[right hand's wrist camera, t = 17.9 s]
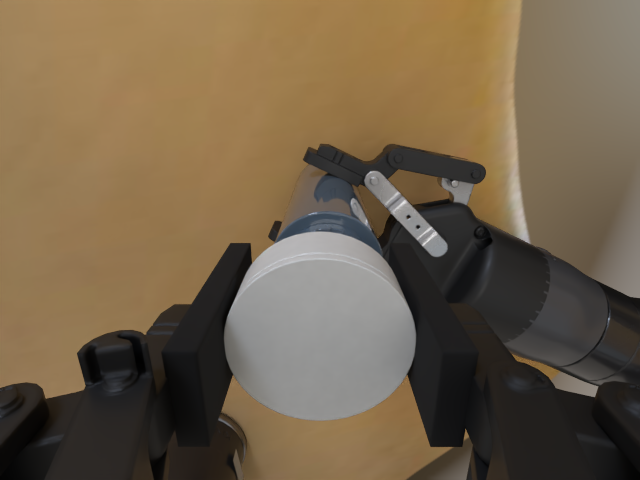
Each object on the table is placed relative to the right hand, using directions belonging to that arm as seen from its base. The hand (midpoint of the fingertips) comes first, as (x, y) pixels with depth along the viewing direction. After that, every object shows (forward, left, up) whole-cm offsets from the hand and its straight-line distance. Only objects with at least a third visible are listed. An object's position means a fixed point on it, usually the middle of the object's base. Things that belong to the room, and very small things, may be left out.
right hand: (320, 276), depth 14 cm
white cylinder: (0, 0, +4) cm, 4 cm away
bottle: (0, 0, -17) cm, 17 cm away
